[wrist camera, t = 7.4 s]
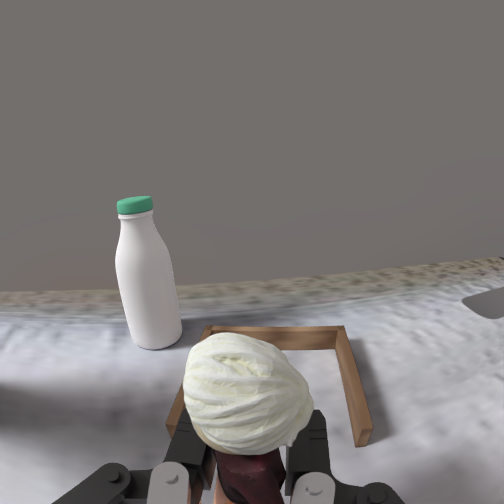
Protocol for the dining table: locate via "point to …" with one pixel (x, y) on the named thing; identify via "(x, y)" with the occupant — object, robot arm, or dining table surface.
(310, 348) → the box
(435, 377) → the dining table surface
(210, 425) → the grandmother figurine
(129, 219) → the milk bottle
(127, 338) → the dining table surface
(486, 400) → the dining table surface
